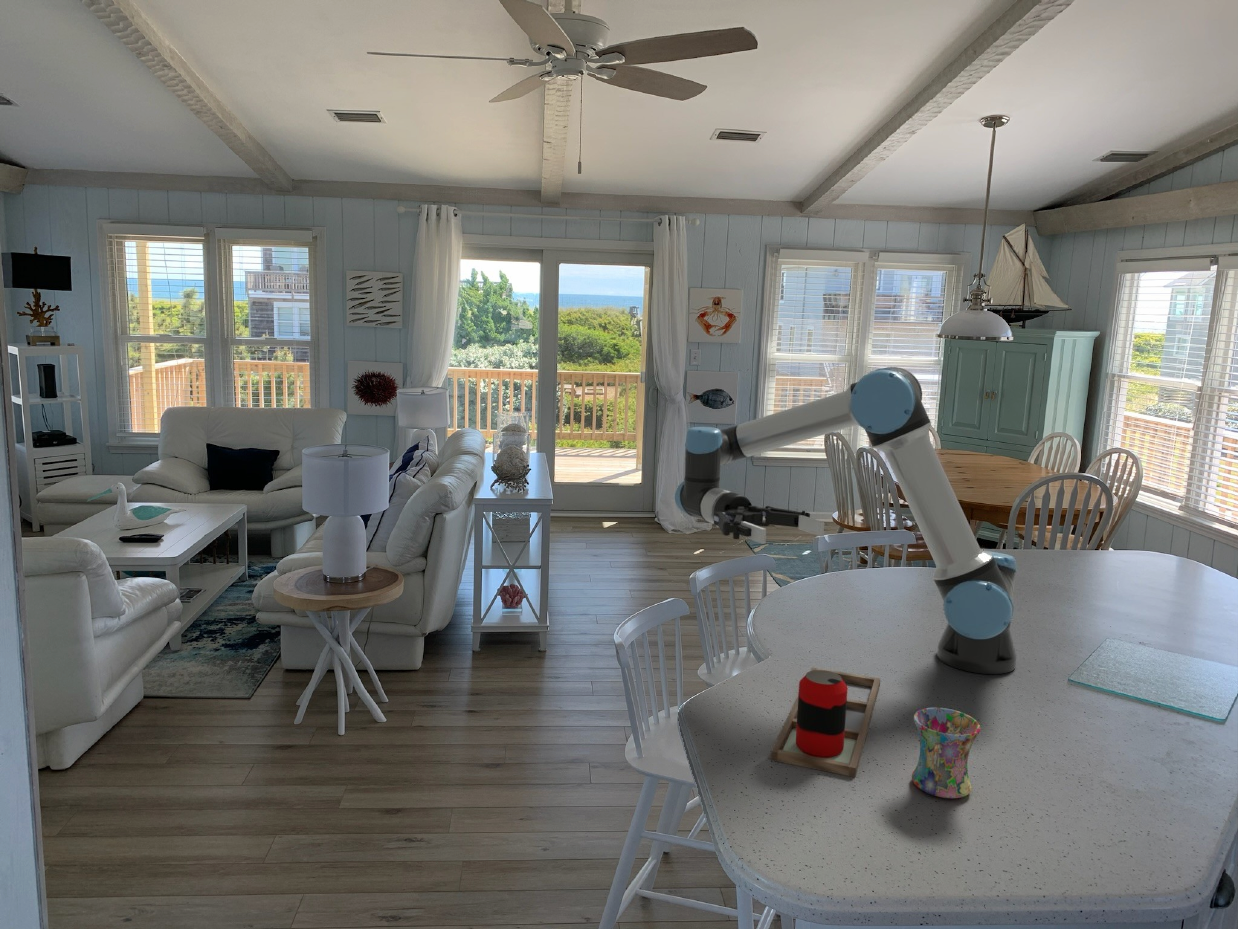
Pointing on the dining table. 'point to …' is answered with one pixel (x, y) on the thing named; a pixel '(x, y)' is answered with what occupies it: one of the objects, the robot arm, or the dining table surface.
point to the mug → (944, 751)
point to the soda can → (821, 714)
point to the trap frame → (853, 737)
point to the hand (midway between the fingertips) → (794, 533)
